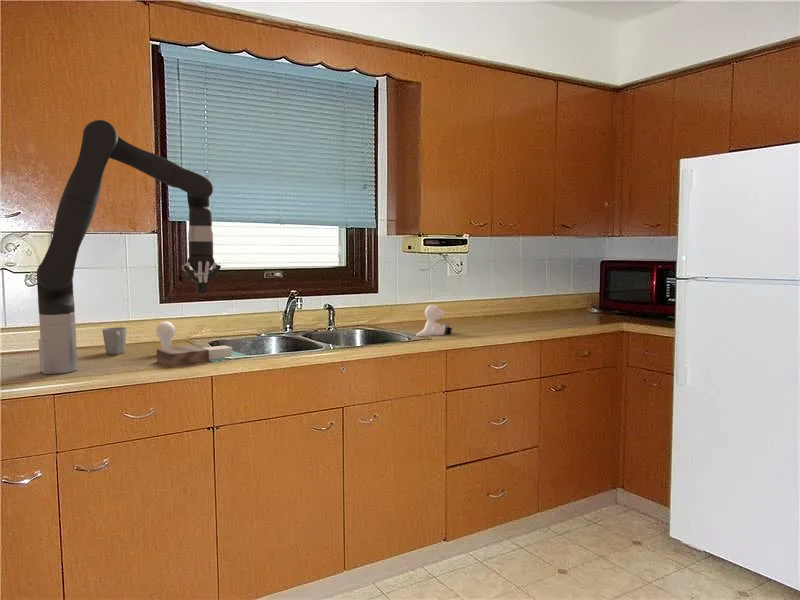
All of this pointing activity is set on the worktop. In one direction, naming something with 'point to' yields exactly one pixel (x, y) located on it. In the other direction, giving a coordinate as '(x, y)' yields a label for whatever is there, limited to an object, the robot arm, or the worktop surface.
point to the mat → (225, 358)
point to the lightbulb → (165, 333)
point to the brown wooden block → (182, 355)
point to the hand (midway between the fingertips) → (201, 294)
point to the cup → (114, 340)
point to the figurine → (434, 323)
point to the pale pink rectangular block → (219, 352)
